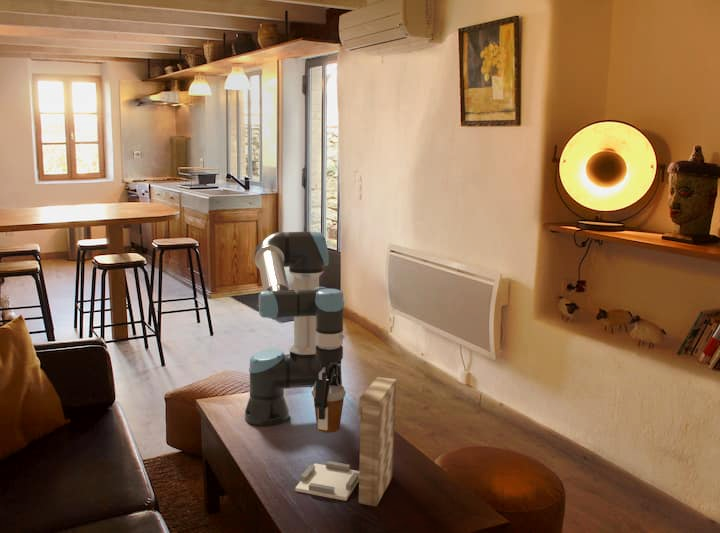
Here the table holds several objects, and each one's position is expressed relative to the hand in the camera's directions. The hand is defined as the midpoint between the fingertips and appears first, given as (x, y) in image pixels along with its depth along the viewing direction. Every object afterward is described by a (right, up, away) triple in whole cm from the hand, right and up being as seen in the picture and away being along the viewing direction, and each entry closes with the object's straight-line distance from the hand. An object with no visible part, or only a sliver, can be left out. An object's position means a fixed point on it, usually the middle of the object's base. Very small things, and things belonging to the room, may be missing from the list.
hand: (328, 422), depth 193 cm
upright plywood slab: (+13, -19, 0) cm, 23 cm away
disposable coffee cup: (0, -2, 0) cm, 2 cm away
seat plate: (0, -18, +3) cm, 18 cm away
